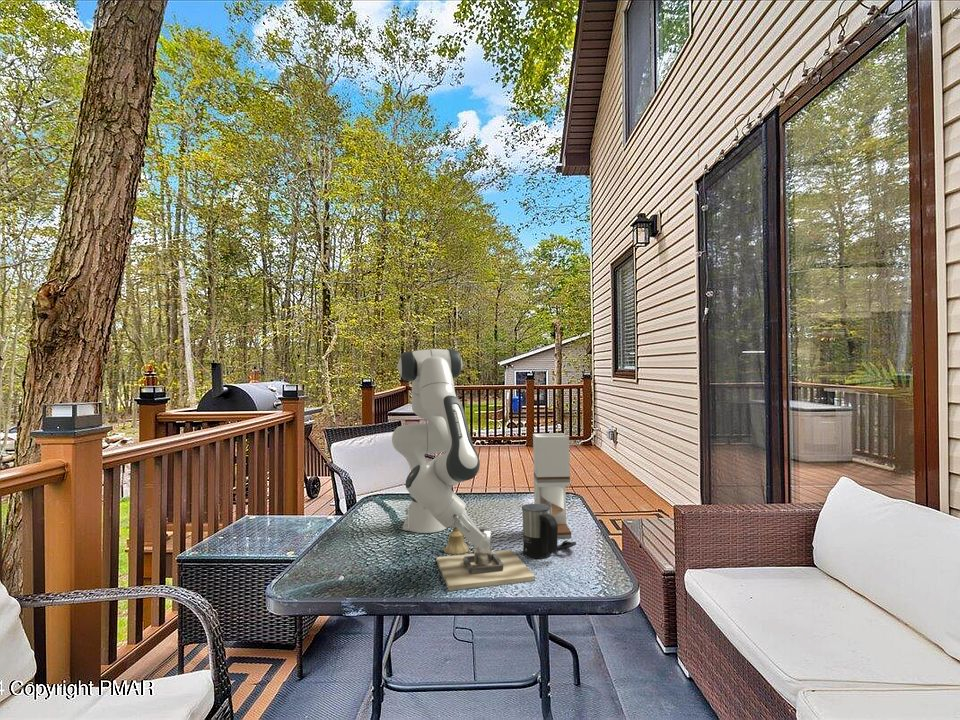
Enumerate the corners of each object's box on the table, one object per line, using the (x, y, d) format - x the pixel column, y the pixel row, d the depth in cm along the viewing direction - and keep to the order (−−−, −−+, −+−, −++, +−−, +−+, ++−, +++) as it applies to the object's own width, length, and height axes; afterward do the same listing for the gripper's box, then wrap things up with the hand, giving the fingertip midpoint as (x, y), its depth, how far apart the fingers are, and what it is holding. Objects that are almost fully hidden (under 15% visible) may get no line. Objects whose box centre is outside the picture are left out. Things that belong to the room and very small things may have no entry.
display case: (538, 538, 172) (536, 437, 173) (534, 529, 182) (532, 433, 184) (571, 538, 172) (569, 436, 173) (566, 529, 182) (563, 433, 184)
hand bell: (449, 556, 156) (448, 505, 157) (439, 548, 164) (439, 499, 164) (473, 552, 160) (472, 502, 160) (463, 544, 167) (462, 496, 168)
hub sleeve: (472, 559, 146) (472, 528, 146) (489, 557, 147) (488, 526, 148) (476, 565, 141) (476, 533, 142) (493, 564, 142) (493, 531, 143)
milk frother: (516, 554, 157) (515, 507, 157) (544, 541, 169) (543, 497, 169) (554, 565, 147) (553, 514, 148) (581, 550, 159) (580, 504, 160)
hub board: (436, 561, 152) (436, 552, 152) (511, 553, 158) (511, 544, 158) (448, 590, 131) (448, 580, 131) (535, 580, 136) (534, 570, 136)
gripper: (466, 512, 133) (501, 545, 135) (452, 495, 153) (483, 524, 155) (450, 530, 132) (486, 564, 134) (438, 511, 152) (469, 540, 154)
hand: (484, 542), depth 145 cm, fingers closed on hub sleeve, 5 cm apart
